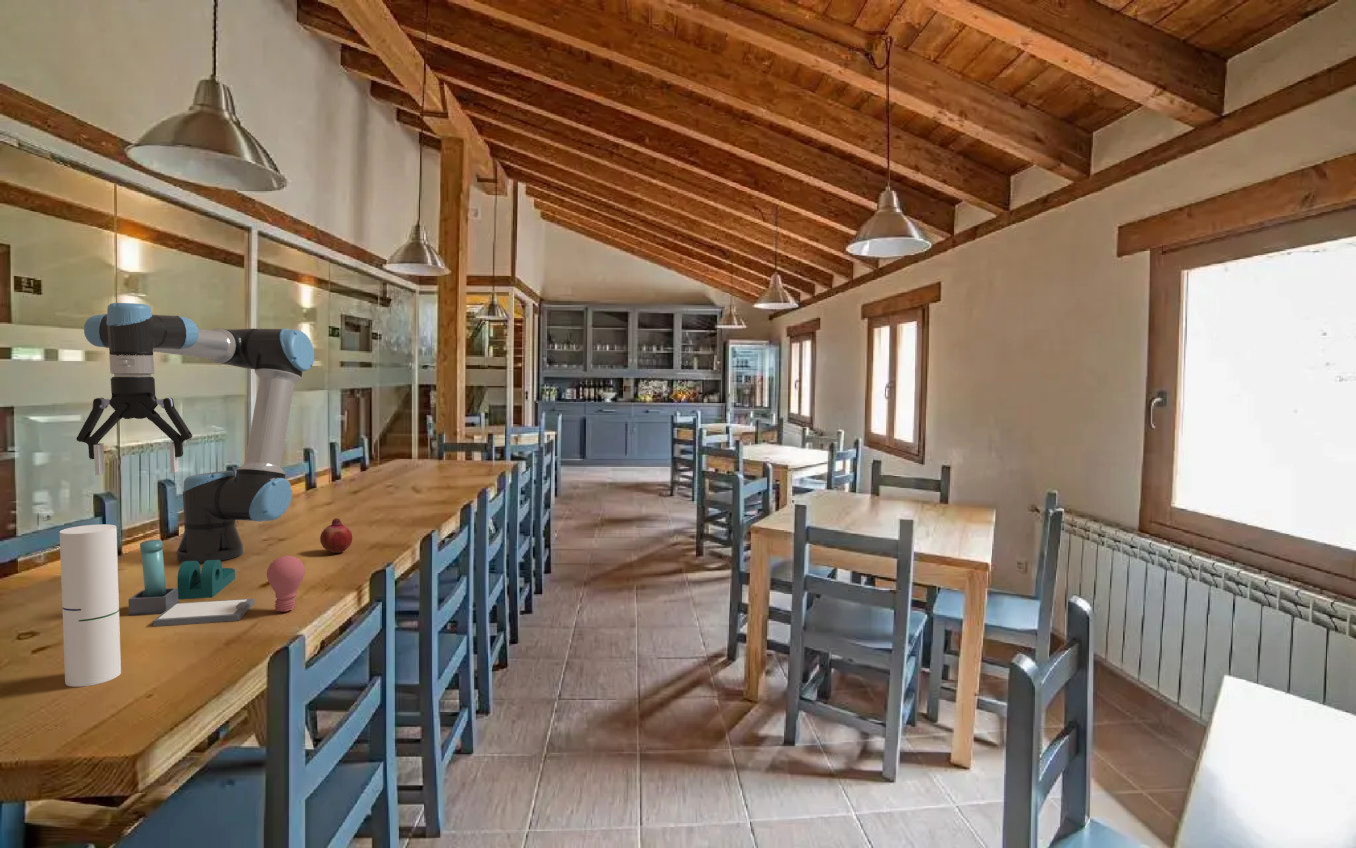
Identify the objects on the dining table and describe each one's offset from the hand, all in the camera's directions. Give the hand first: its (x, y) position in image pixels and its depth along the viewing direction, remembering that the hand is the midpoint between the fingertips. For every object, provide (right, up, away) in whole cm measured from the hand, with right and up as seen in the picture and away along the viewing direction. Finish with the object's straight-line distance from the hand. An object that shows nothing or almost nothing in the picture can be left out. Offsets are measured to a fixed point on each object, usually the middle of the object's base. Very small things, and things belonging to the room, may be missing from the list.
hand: (138, 473), depth 153 cm
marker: (+6, -28, -2) cm, 29 cm away
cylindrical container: (+21, -32, -37) cm, 53 cm away
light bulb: (+34, -30, -3) cm, 45 cm away
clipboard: (+19, -29, -6) cm, 35 cm away
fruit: (+21, -26, +46) cm, 57 cm away
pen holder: (+6, -29, -4) cm, 30 cm away
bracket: (+7, -28, +13) cm, 32 cm away
